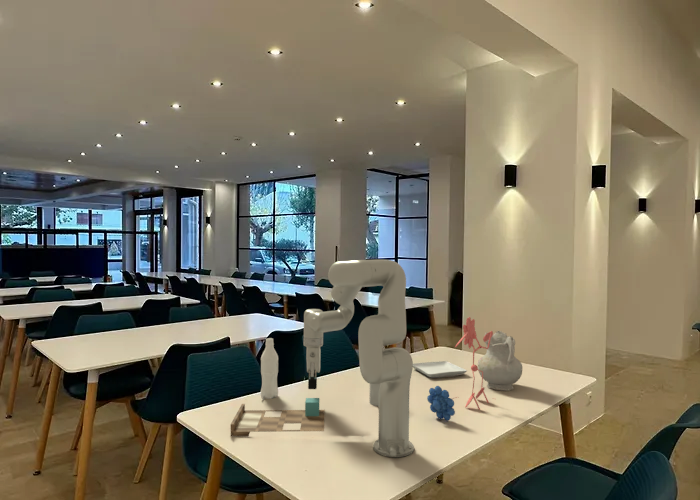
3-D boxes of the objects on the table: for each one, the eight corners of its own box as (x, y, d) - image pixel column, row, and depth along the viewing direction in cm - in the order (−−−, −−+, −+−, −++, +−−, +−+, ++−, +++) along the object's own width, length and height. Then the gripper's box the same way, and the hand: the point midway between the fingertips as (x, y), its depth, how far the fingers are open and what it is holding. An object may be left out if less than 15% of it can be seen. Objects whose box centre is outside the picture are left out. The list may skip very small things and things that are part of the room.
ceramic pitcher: (534, 395, 205) (538, 337, 205) (498, 396, 198) (502, 337, 198) (501, 381, 225) (505, 329, 225) (467, 382, 218) (471, 328, 218)
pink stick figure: (498, 398, 196) (497, 314, 196) (473, 416, 176) (471, 322, 176) (464, 392, 206) (463, 312, 206) (436, 408, 185) (434, 319, 185)
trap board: (323, 435, 158) (323, 423, 157) (230, 436, 156) (230, 424, 156) (324, 413, 177) (324, 403, 177) (242, 414, 176) (242, 403, 176)
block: (318, 416, 171) (319, 402, 171) (305, 416, 171) (305, 402, 171) (319, 411, 176) (319, 397, 176) (305, 411, 176) (306, 398, 176)
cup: (388, 406, 186) (388, 376, 185) (368, 405, 187) (368, 375, 187) (390, 400, 194) (390, 371, 193) (371, 398, 195) (371, 370, 195)
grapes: (420, 418, 174) (420, 385, 174) (431, 413, 179) (431, 382, 178) (447, 426, 166) (448, 392, 166) (458, 421, 170) (458, 388, 170)
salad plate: (409, 369, 243) (409, 362, 243) (446, 366, 249) (446, 360, 249) (428, 381, 222) (428, 373, 222) (468, 377, 229) (468, 370, 229)
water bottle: (256, 400, 192) (257, 339, 192) (267, 395, 198) (268, 336, 198) (271, 403, 189) (271, 341, 188) (281, 398, 195) (282, 338, 195)
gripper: (322, 346, 174) (321, 395, 174) (323, 337, 189) (322, 382, 189) (302, 345, 174) (301, 395, 174) (304, 337, 188) (303, 382, 189)
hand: (312, 388), depth 182 cm, fingers closed
